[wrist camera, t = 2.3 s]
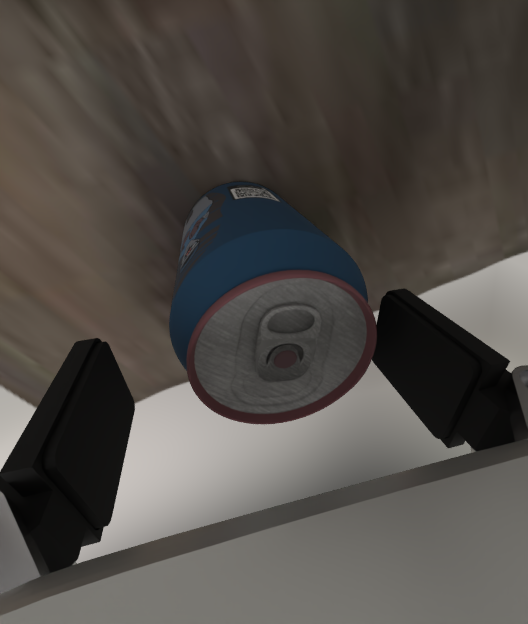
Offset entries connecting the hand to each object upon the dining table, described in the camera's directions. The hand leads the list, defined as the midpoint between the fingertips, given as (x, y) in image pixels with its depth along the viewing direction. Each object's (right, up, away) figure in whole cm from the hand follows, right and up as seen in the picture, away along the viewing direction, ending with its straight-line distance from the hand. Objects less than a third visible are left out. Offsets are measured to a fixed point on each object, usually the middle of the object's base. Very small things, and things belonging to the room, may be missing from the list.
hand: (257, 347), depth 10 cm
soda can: (-1, +6, +9) cm, 11 cm away
